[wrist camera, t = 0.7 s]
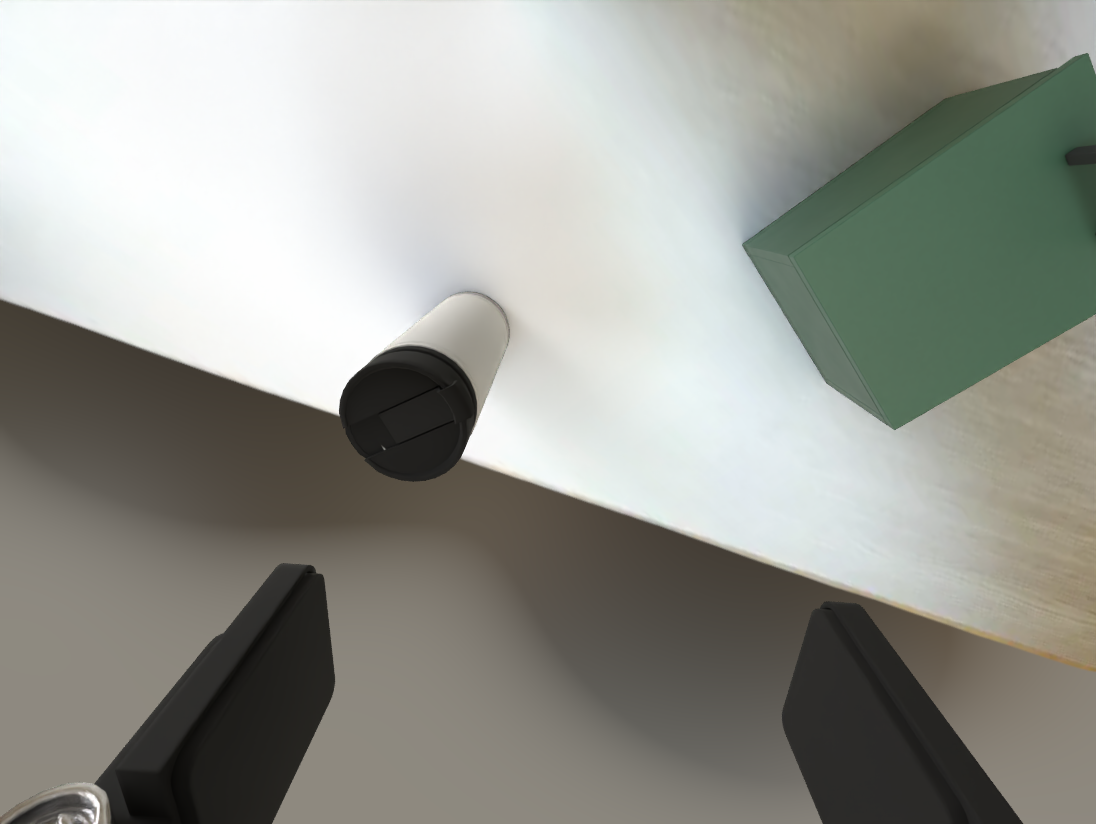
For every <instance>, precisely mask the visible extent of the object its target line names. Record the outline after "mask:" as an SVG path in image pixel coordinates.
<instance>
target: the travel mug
mask: <svg viewBox="0 0 1096 824" xmlns="http://www.w3.org/2000/svg"><path fill="white" fill-rule="evenodd" d="M509 333H510V330H509V324H508V320H507V318H506V315H505V314H504V312H503V310H502V309H501V308H500V307H499V305H498V304H497V303H496V302H494V301H493V300H492V299H490V298H489V297H487V296H485V295H483V294H479V293H475V292H462V293H457V294H454V295H452V296H450V297H448V298H447V299H445V300H444V301H443V302H441V303H440V304H439V305H438V306H436V307H435V308H434V309H433V310H432V311H430V312H429V313H428V314H427V315H425V316H424V317H423V318H422V319H420V320H419V321H418V322H417V323H416V324H414V325H413V326H412V327H411V328H409V329H408V330H407V331H406V332H404V333H403V334H402V335H401V336H400V337H398V338H397V339H396V340H395V341H393V342H392V343H391V344H390V345H388V346H387V347H386V348H385V349H384V350H382V351H381V352H380V353H379V354H377V355H376V356H375V357H374V358H373V359H372V360H371V361H370V362H369V363H368V364H367V365H366V366H365V367H363V368H362V369H361V370H360V371H359V372H357V373H356V374H355V375H354V376H353V377H352V378H351V379H350V380H349V382H348V383H347V385H346V387H345V388H344V390H343V393H342V396H341V399H340V406H339V414H340V418H341V421H342V425H343V428H345V429H346V435H347V437H348V438H349V440H350V442H351V444H352V445H353V447H354V448H355V449H356V450H357V452H358V453H359V454H360V455H362V456H363V457H365V458H366V459H365V461H366V462H367V463H368V464H369V465H371V466H372V467H373V468H374V469H375V470H377V471H378V472H380V473H382V474H384V475H386V476H388V477H391V478H395V479H398V480H404V481H413V482H414V481H426V480H429V479H433V478H436V477H438V476H440V475H442V474H445V473H446V472H447V471H449V470H450V469H451V468H452V467H454V466H455V464H456V463H457V462H458V460H459V459H460V458H461V456H462V454H463V452H464V449H465V447H466V445H467V442H468V440H469V437H470V435H471V434H472V432H473V430H474V427H475V425H476V423H477V420H478V418H479V415H480V413H481V410H482V408H483V405H484V403H485V400H486V398H487V395H488V393H489V390H490V388H491V385H492V383H493V380H494V378H495V375H496V373H497V370H498V368H499V365H500V363H501V360H502V358H503V355H504V353H505V350H506V348H507V345H508V341H509Z"/></svg>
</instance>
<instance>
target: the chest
mask: <svg viewBox="0 0 1096 824" xmlns="http://www.w3.org/2000/svg"><path fill="white" fill-rule="evenodd" d="M1056 69H1057V68H1055V69H1051V70H1048V71H1044V72H1040V73H1037V74H1033V75H1030V76H1026V77H1022V78H1019V79H1015V80H1011V81H1008V82H1004V83H1000V84H997V85H993V86H989V87H986V88H982V89H978V90H975V91H971V92H967V93H964V94H960V95H956V96H953V97H950V98H946V99H944V100H943V101H941V102H940V103H939V104H937V105H936V106H934V107H933V108H932V109H930V110H929V111H928V112H926V113H925V114H923V115H922V116H921V117H919V118H918V119H916V120H915V121H914V122H912V123H911V124H909V125H908V126H907V127H905V128H904V129H902V130H901V131H900V132H898V133H897V134H896V135H894V136H893V137H891V138H890V139H889V140H887V141H886V142H884V143H883V144H882V145H880V146H879V147H877V148H876V149H875V150H873V151H872V152H870V153H869V154H868V155H866V156H865V157H863V158H862V159H861V160H859V161H858V162H857V163H855V164H854V165H852V166H851V167H850V168H848V169H847V170H845V171H844V172H843V173H841V174H840V175H838V176H837V177H836V178H834V179H833V180H831V181H830V182H829V183H827V184H826V185H825V186H823V187H822V188H820V189H819V190H818V191H816V192H815V193H813V194H812V195H811V196H809V197H808V198H806V199H805V200H804V201H802V202H801V203H799V204H798V205H797V206H795V207H794V208H792V209H791V210H790V211H788V212H787V213H786V214H784V215H783V216H781V217H780V218H779V219H777V220H776V221H774V222H773V223H772V224H770V225H769V226H767V227H766V228H765V229H763V230H762V231H760V232H759V233H758V234H756V235H755V236H754V237H752V238H751V239H749V240H748V241H747V242H745V243H744V244H743V245H742V246H743V247H744V249H745V251H746V252H747V254H748V256H749V257H750V259H751V260H752V262H753V264H754V265H755V267H756V269H757V270H758V272H759V273H760V275H761V277H762V278H763V280H764V282H765V283H766V285H767V287H768V288H769V290H770V291H771V293H772V295H773V296H774V298H775V300H776V301H777V303H778V305H779V306H780V308H781V309H782V311H783V313H784V314H785V316H786V318H787V319H788V321H789V323H790V324H791V326H792V327H793V329H794V331H795V332H796V334H797V336H798V337H799V339H800V341H801V342H802V344H803V345H804V347H805V349H806V350H807V352H808V354H809V355H810V357H811V359H812V360H813V362H814V363H815V365H816V367H817V368H818V370H819V372H820V373H821V375H822V376H823V378H824V380H825V381H826V383H827V384H828V385H830V386H831V387H833V388H834V389H835V390H837V391H838V392H840V393H841V394H843V395H844V396H846V397H847V398H849V399H850V400H851V401H853V402H854V403H856V404H857V405H859V406H860V407H862V408H863V409H864V410H866V411H867V412H869V413H870V414H872V415H873V416H875V417H876V418H878V419H879V420H880V421H882V422H883V423H885V424H886V425H887V423H886V421H885V420H884V418H883V416H882V414H881V413H880V411H879V409H878V408H877V406H876V404H875V403H874V401H873V399H872V397H871V396H870V394H869V392H868V391H867V389H866V387H865V386H864V384H863V382H862V380H861V379H860V377H859V375H858V374H857V372H856V370H855V368H854V367H853V365H852V363H851V362H850V360H849V358H848V357H847V355H846V353H845V351H844V350H843V348H842V346H841V345H840V343H839V341H838V340H837V338H836V336H835V334H834V333H833V331H832V329H831V328H830V326H829V324H828V323H827V321H826V319H825V317H824V316H823V314H822V312H821V311H820V309H819V307H818V305H817V304H816V302H815V300H814V299H813V297H812V295H811V294H810V292H809V290H808V288H807V287H806V285H805V283H804V282H803V280H802V278H801V277H800V275H799V273H798V271H797V270H796V268H795V266H794V265H793V263H792V261H791V259H790V258H789V255H790V254H792V253H793V252H795V251H796V250H797V249H799V248H800V247H802V246H803V245H805V244H806V243H808V242H809V241H810V240H812V239H813V238H815V237H816V236H818V235H819V234H820V233H822V232H823V231H825V230H826V229H828V228H829V227H831V226H832V225H833V224H835V223H836V222H838V221H839V220H841V219H842V218H843V217H845V216H846V215H848V214H849V213H851V212H852V211H853V210H855V209H856V208H858V207H859V206H861V205H862V204H864V203H865V202H866V201H868V200H869V199H871V198H872V197H874V196H875V195H876V194H878V193H879V192H881V191H882V190H884V189H885V188H887V187H888V186H889V185H891V184H892V183H894V182H895V181H897V180H898V179H899V178H901V177H902V176H904V175H905V174H907V173H908V172H910V171H911V170H912V169H914V168H915V167H917V166H918V165H920V164H921V163H922V162H924V161H925V160H927V159H928V158H930V157H931V156H932V155H934V154H935V153H937V152H938V151H940V150H941V149H943V148H944V147H945V146H947V145H948V144H950V143H951V142H953V141H954V140H955V139H957V138H958V137H960V136H961V135H963V134H964V133H966V132H967V131H968V130H970V129H971V128H973V127H974V126H976V125H977V124H978V123H980V122H981V121H983V120H984V119H986V118H987V117H989V116H990V115H991V114H993V113H994V112H996V111H997V110H999V109H1000V108H1001V107H1003V106H1004V105H1006V104H1007V103H1009V102H1010V101H1011V100H1013V99H1014V98H1016V97H1017V96H1019V95H1020V94H1022V93H1023V92H1024V91H1026V90H1027V89H1029V88H1030V87H1032V86H1033V85H1034V84H1036V83H1037V82H1039V81H1040V80H1042V79H1043V78H1045V77H1046V76H1047V75H1049V74H1050V73H1052V72H1053V71H1055V70H1056Z"/></svg>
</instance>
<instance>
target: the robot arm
mask: <svg viewBox="0 0 1096 824" xmlns="http://www.w3.org/2000/svg"><path fill="white" fill-rule="evenodd" d="M331 647H332V646H331V637H330V628H329V619H328V610H327V600H326V591H325V582H324V577H323V575H322V574H316V571H315V568H314V567H313V566H311V565H301V564H286V563H283V564H280V565H278V566H277V567H276V568H275V570H274V571H273V572H272V574H271V575H270V576H269V577H268V578H267V580H266V581H265V582H264V583H263V585H262V586H261V587H260V588H259V590H258V591H257V592H256V593H255V595H254V596H253V597H252V599H251V600H250V601H249V602H248V604H247V605H246V606H245V607H244V608H243V610H242V611H241V612H240V613H239V615H238V616H237V617H236V618H235V620H234V621H233V622H232V623H231V625H230V626H229V627H228V629H227V630H226V631H225V632H224V633H223V634H220V635H219V636H216V637H215V638H214V639H213V640H212V641H211V642H210V643H209V644H208V645H207V646H206V647H205V649H204V650H203V651H202V652H201V654H200V655H199V656H198V657H197V659H196V660H195V661H194V662H193V664H192V665H191V666H190V667H189V668H188V670H187V671H186V672H185V673H184V675H183V676H182V677H181V678H180V679H179V681H178V682H177V683H176V684H175V686H174V687H173V688H172V689H171V690H170V692H169V693H168V694H167V695H166V697H165V698H164V699H163V700H162V701H161V703H160V704H159V705H158V706H157V708H156V709H155V710H154V711H153V712H152V714H151V715H150V716H149V717H148V719H147V720H146V721H145V722H144V724H143V725H142V726H141V727H140V729H139V730H138V731H137V732H136V733H135V735H134V736H133V737H132V738H131V740H130V741H129V742H128V743H127V744H126V746H125V747H124V748H123V749H122V751H121V752H120V753H119V754H118V756H117V757H116V758H115V759H114V760H113V762H112V763H111V764H110V765H109V766H108V768H107V769H106V770H105V771H104V773H103V774H102V775H101V776H100V777H99V779H98V780H97V781H96V782H95V784H89V783H83V782H78V783H71V784H64V785H60V786H57V787H54V788H51V789H48V790H45V791H42V792H40V793H38V794H36V795H34V796H32V797H30V798H29V799H27V800H25V801H23V802H21V803H19V804H18V805H16V806H15V807H13V808H12V809H10V810H9V811H8V812H6V813H5V814H4V815H2V816H1V817H0V824H272V822H273V820H274V818H275V816H276V814H277V812H278V810H279V808H280V805H281V803H282V801H283V799H284V797H285V795H286V793H287V791H288V789H289V786H290V784H291V782H292V780H293V778H294V776H295V774H296V772H297V770H298V767H299V765H300V763H301V761H302V759H303V757H304V755H305V753H306V751H307V749H308V747H309V744H310V742H311V740H312V738H313V736H314V734H315V732H316V730H317V728H318V725H319V723H320V721H321V719H322V717H323V715H324V713H325V711H326V709H327V707H328V704H329V702H330V700H331V697H332V695H333V691H334V685H335V674H334V665H333V655H332V648H331ZM782 722H783V728H784V731H785V734H786V737H787V739H788V741H789V744H790V746H791V749H792V751H793V753H794V756H795V758H796V761H797V763H798V765H799V768H800V770H801V772H802V775H803V777H804V780H805V782H806V784H807V787H808V789H809V792H810V794H811V796H812V799H813V801H814V803H815V806H816V808H817V811H818V813H819V816H820V818H821V820H822V823H823V824H1023V823H1022V821H1021V820H1020V819H1019V817H1018V816H1017V815H1016V813H1015V812H1014V811H1013V809H1012V808H1011V807H1010V805H1009V804H1008V803H1007V801H1006V800H1005V798H1004V797H1003V796H1002V794H1001V793H1000V792H999V791H998V789H997V788H996V786H995V785H994V784H993V782H992V781H991V780H990V778H989V777H988V776H987V774H986V773H985V772H984V770H983V769H982V768H981V766H980V765H979V764H978V762H977V761H976V759H975V758H974V757H973V755H972V754H971V753H970V751H969V750H968V749H967V747H966V746H965V745H964V743H963V742H962V741H961V739H960V738H959V737H958V735H957V734H956V733H955V731H954V730H953V728H952V727H951V726H950V724H949V723H948V722H947V720H946V719H945V718H944V716H943V715H942V714H941V712H940V711H939V710H938V708H937V707H936V705H935V704H934V703H933V701H932V700H931V699H930V697H929V696H928V695H927V693H926V692H925V691H924V689H923V688H922V687H921V685H920V684H919V683H918V681H917V680H916V679H915V677H914V676H913V674H912V673H911V672H910V670H909V669H908V668H907V666H906V665H905V664H904V662H903V661H902V660H901V658H900V657H899V656H898V654H897V653H896V652H895V650H894V649H893V648H892V646H891V645H890V644H889V642H888V641H887V639H886V638H885V637H884V635H883V634H882V633H881V631H880V630H879V629H878V627H877V626H876V625H875V624H874V622H873V621H872V619H871V618H870V617H869V615H868V614H867V612H866V611H865V610H864V609H863V608H862V607H861V606H860V605H858V604H856V603H843V602H824V603H823V604H822V605H821V608H820V609H815V610H813V612H812V614H811V618H810V621H809V624H808V627H807V631H806V635H805V637H804V641H803V644H802V647H801V651H800V654H799V658H798V661H797V664H796V667H795V671H794V674H793V677H792V681H791V684H790V687H789V691H788V694H787V698H786V701H785V704H784V707H783V712H782Z"/></svg>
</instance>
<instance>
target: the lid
mask: <svg viewBox="0 0 1096 824" xmlns="http://www.w3.org/2000/svg"><path fill="white" fill-rule="evenodd" d="M789 258H790V259H791V261H792V263H793V265H794V266H795V268H796V270H797V271H798V273H799V275H800V277H801V278H802V280H803V282H804V283H805V285H806V287H807V288H808V290H809V292H810V294H811V295H812V297H813V299H814V300H815V302H816V304H817V305H818V307H819V309H820V311H821V312H822V314H823V316H824V317H825V319H826V321H827V323H828V324H829V326H830V328H831V329H832V331H833V333H834V334H835V336H836V338H837V340H838V341H839V343H840V345H841V346H842V348H843V350H844V351H845V353H846V355H847V357H848V358H849V360H850V362H851V363H852V365H853V367H854V368H855V370H856V372H857V374H858V375H859V377H860V379H861V380H862V382H863V384H864V386H865V387H866V389H867V391H868V392H869V394H870V396H871V397H872V399H873V401H874V403H875V404H876V406H877V408H878V409H879V411H880V413H881V414H882V416H883V418H884V420H885V421H886V423H887V425H888V426H889V427H891V428H892V429H894V430H896V429H898V428H899V427H901V426H903V425H905V424H906V423H908V422H910V421H911V420H913V419H915V418H917V417H918V416H920V415H922V414H924V413H925V412H927V411H929V410H931V409H932V408H934V407H936V406H937V405H939V404H941V403H943V402H944V401H946V400H948V399H950V398H951V397H953V396H955V395H956V394H958V393H960V392H962V391H963V390H965V389H967V388H969V387H970V386H972V385H974V384H976V383H977V382H979V381H981V380H982V379H984V378H986V377H988V376H989V375H991V374H993V373H995V372H996V371H998V370H1000V369H1001V368H1003V367H1005V366H1007V365H1008V364H1010V363H1012V362H1014V361H1015V360H1017V359H1019V358H1020V357H1022V356H1024V355H1026V354H1027V353H1029V352H1031V351H1033V350H1034V349H1036V348H1038V347H1040V346H1041V345H1043V344H1045V343H1046V342H1048V341H1050V340H1052V339H1053V338H1055V337H1057V336H1059V335H1060V334H1062V333H1064V332H1065V331H1067V330H1069V329H1071V328H1072V327H1074V326H1076V325H1078V324H1079V323H1081V322H1083V321H1084V320H1086V319H1088V318H1090V317H1091V316H1093V315H1095V314H1096V74H1095V71H1094V68H1093V66H1092V63H1091V60H1090V57H1089V54H1088V53H1086V54H1082V55H1079V56H1075V57H1073V58H1072V59H1070V60H1069V61H1068V62H1066V63H1065V64H1063V65H1062V66H1060V67H1059V68H1057V69H1056V70H1055V71H1053V72H1052V73H1050V74H1049V75H1047V76H1046V77H1045V78H1043V79H1042V80H1040V81H1039V82H1037V83H1036V84H1034V85H1033V86H1032V87H1030V88H1029V89H1027V90H1026V91H1024V92H1023V93H1022V94H1020V95H1019V96H1017V97H1016V98H1014V99H1013V100H1011V101H1010V102H1009V103H1007V104H1006V105H1004V106H1003V107H1001V108H1000V109H999V110H997V111H996V112H994V113H993V114H991V115H990V116H989V117H987V118H986V119H984V120H983V121H981V122H980V123H978V124H977V125H976V126H974V127H973V128H971V129H970V130H968V131H967V132H966V133H964V134H963V135H961V136H960V137H958V138H957V139H955V140H954V141H953V142H951V143H950V144H948V145H947V146H945V147H944V148H943V149H941V150H940V151H938V152H937V153H935V154H934V155H932V156H931V157H930V158H928V159H927V160H925V161H924V162H922V163H921V164H920V165H918V166H917V167H915V168H914V169H912V170H911V171H910V172H908V173H907V174H905V175H904V176H902V177H901V178H899V179H898V180H897V181H895V182H894V183H892V184H891V185H889V186H888V187H887V188H885V189H884V190H882V191H881V192H879V193H878V194H876V195H875V196H874V197H872V198H871V199H869V200H868V201H866V202H865V203H864V204H862V205H861V206H859V207H858V208H856V209H855V210H853V211H852V212H851V213H849V214H848V215H846V216H845V217H843V218H842V219H841V220H839V221H838V222H836V223H835V224H833V225H832V226H831V227H829V228H828V229H826V230H825V231H823V232H822V233H820V234H819V235H818V236H816V237H815V238H813V239H812V240H810V241H809V242H808V243H806V244H805V245H803V246H802V247H800V248H799V249H797V250H796V251H795V252H793V253H792V254H790V255H789Z"/></svg>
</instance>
